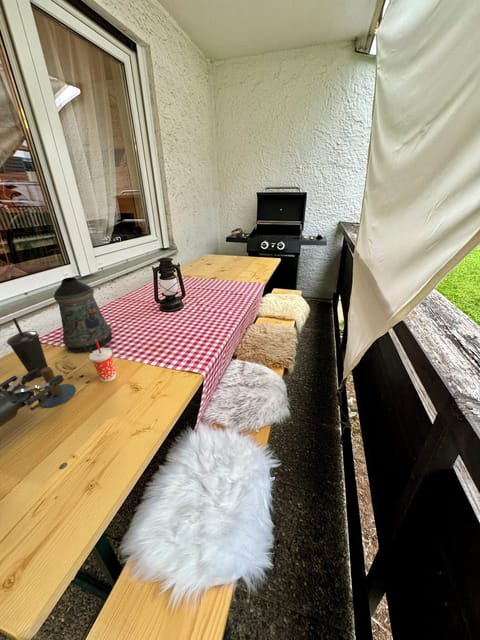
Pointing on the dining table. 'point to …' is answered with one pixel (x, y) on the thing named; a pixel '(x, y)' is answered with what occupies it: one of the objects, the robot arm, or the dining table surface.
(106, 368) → the beverage cup
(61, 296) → the beer stein
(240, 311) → the dining table surface
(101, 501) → the dining table surface
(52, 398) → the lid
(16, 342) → the drinking cup
